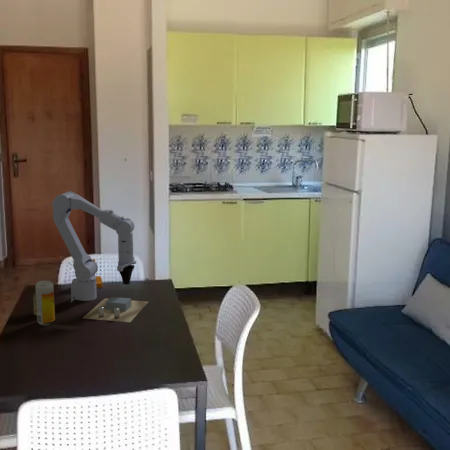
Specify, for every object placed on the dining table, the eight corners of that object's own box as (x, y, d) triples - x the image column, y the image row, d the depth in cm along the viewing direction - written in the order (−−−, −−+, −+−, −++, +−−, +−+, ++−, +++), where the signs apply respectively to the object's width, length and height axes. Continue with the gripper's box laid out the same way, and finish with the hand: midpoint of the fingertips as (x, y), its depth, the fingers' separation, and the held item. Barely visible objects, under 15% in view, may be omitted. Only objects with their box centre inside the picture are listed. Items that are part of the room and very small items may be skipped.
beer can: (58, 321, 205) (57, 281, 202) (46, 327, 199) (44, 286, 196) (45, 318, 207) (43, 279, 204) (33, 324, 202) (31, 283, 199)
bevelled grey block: (105, 309, 214) (105, 302, 213) (111, 304, 220) (111, 296, 219) (126, 311, 213) (125, 303, 212) (131, 305, 218) (131, 298, 218)
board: (82, 321, 205) (82, 318, 205) (105, 301, 226) (105, 298, 226) (130, 325, 202) (130, 322, 202) (148, 304, 224) (148, 301, 223)
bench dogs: (97, 317, 206) (97, 308, 205) (99, 315, 208) (99, 306, 207) (118, 319, 205) (118, 309, 204) (120, 317, 207) (120, 307, 206)
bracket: (103, 289, 241) (102, 262, 238) (85, 290, 239) (84, 263, 236) (100, 281, 251) (99, 255, 248) (83, 283, 249) (82, 256, 246)
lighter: (32, 315, 210) (31, 290, 207) (35, 312, 213) (33, 286, 211) (52, 315, 210) (51, 289, 208) (54, 311, 214) (53, 286, 212)
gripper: (129, 255, 213) (130, 290, 216) (141, 246, 227) (141, 279, 230) (111, 254, 214) (112, 289, 217) (124, 245, 228) (125, 277, 231)
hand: (126, 283), depth 223 cm, fingers closed
